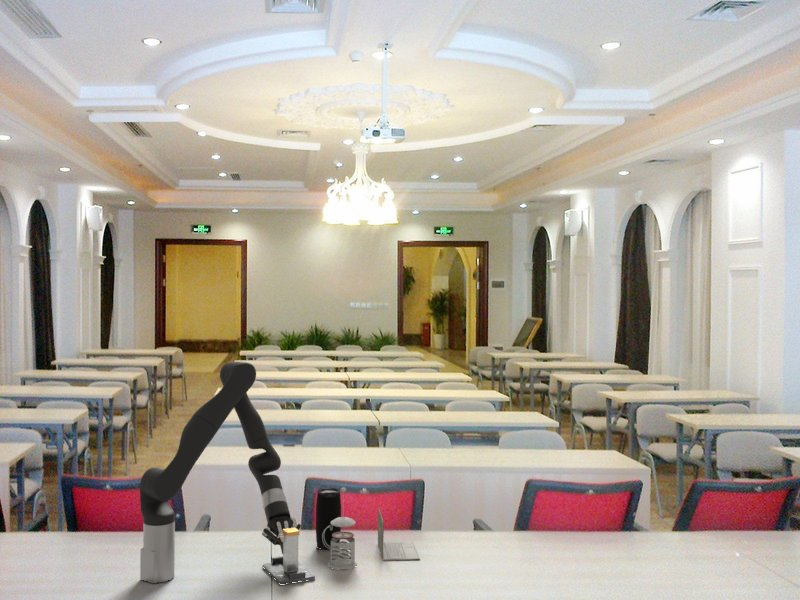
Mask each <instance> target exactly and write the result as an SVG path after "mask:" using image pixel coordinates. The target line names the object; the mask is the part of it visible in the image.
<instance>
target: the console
mask: <svg viewBox="0 0 800 600" xmlns="http://www.w3.org/2000/svg"><path fill="white" fill-rule="evenodd" d="M263 567H264V568H265V570H266V571H267V572H268V573H270V575H271V576H272V577H273V578H275V579H276V581H277V582H278V583H280V584H286V583H292V582H298V581H306V580H313V581H316V576H315V575H314V574H313V573H312V572H310V571H309V569H307V567H305V566H304V565H303V564H302V563H300V562H299V561H298V572H297V573H291V574H288V573H286V572H285V571H284V569H283V555H282V556H276V557H271V562H269V563H263V564H262V568H263ZM265 570H264V571H265ZM266 571H265V572H266ZM267 572H266V573H267ZM268 573H267V574H268ZM270 575H269V576H270ZM271 576H270V577H271ZM272 577H271V578H272ZM273 578H272V579H273ZM276 581H275V582H276ZM277 582H276V583H277ZM278 583H277V584H278Z"/></svg>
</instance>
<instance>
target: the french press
mask: <svg viewBox="0 0 800 600" xmlns="http://www.w3.org/2000/svg"><path fill="white" fill-rule="evenodd" d="M341 492H342V516H341V517H338V518H336V519H334V520H332V521H331V524H332V525H333V526H336V527H341V528H349V527H353V526H355V525H356V522H357V521H355V520H354V519H353V518H351V517H347V516H344V508H345V507H344V505H345V503H344V501H345V499H344V498H345V496H344V495H345V492H347V488H346V487H341V488H340V493H341ZM332 525H330V526H332ZM330 526H328V527H327V528H329V527H330ZM333 526H332V529H333ZM327 528H326V529H327ZM326 529H325V530H324V531H323V533H325V531H326ZM332 529H331V527H330V530H332ZM354 536H355V534H354V533H353V532H350V531H344V530H341V532H335V533H333V534H332V537H333V538H332V541H331V548H329V547H330V546H329V545H328V544H327V543H326V541H325V538H324V541H325V543H326V545H327V546H329V547H326V545H325V544H324V542H323V544H324V545H325V547H324V548H327V549H328V550H329V556H330V557H329V562H328V563H327V565H328V566H329V567H331V568H333V569H332V570H335V569H349V570H352V569H351V568H353V569H355V568H356V567H355V566H357V564H358V563H357V561H356V559H355V558H356V557H355V554H356V550H355V549H356V547H355V546H356V539H355V538H354ZM338 540H340V542H338V543H337V541H338ZM344 540H346V541H344ZM322 541H323V534H322ZM337 546H338V547H337ZM328 566H327V567H328ZM329 567H328V568H329ZM354 567H355V568H354ZM357 567H358V566H357ZM331 568H330V569H331Z"/></svg>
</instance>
